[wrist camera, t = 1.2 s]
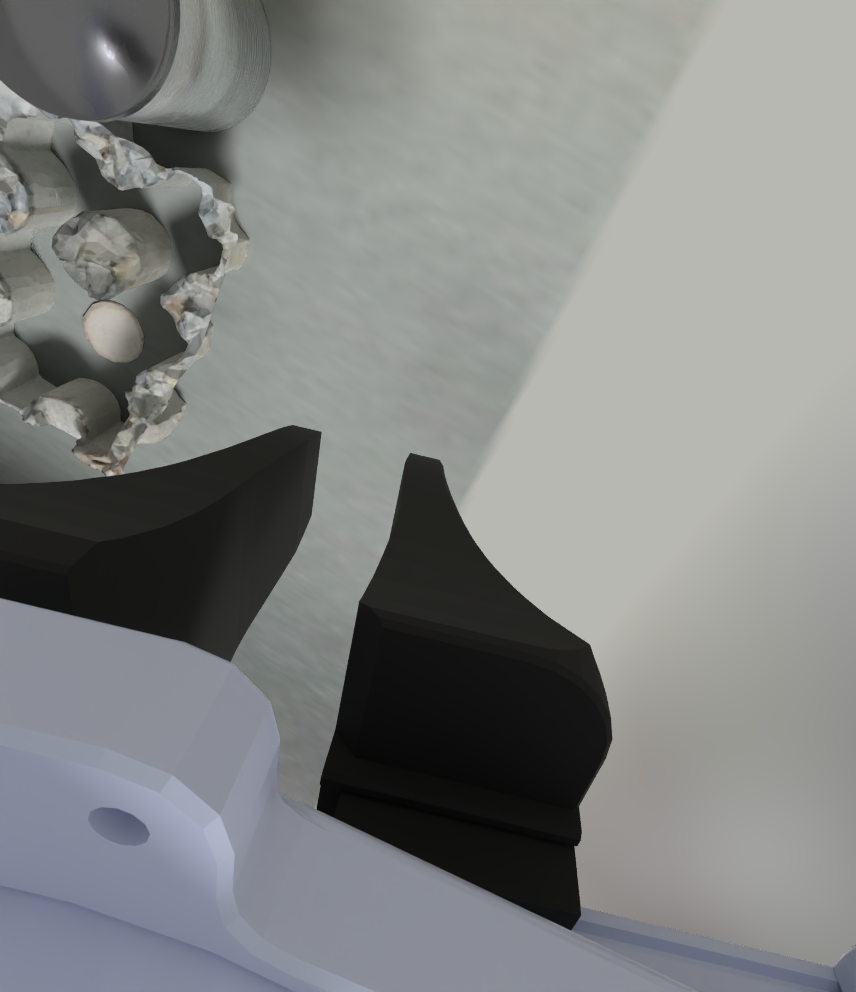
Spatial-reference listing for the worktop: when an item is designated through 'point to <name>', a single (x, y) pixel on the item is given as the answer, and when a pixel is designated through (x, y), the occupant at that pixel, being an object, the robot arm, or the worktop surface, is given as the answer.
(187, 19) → the jar with metallic lid
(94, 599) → the robot arm
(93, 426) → the egg carton
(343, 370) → the worktop surface
